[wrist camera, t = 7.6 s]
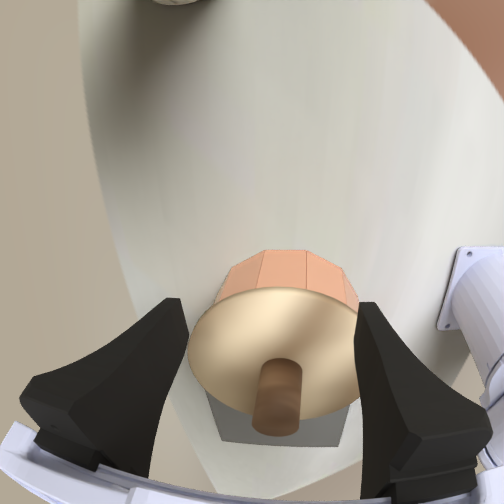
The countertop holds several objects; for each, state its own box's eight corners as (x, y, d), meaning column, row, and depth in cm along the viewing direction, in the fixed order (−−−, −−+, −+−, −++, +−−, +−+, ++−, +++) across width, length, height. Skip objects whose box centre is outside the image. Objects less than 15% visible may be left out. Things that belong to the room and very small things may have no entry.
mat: (356, 371, 28) (356, 376, 28) (337, 442, 35) (337, 446, 35) (201, 366, 31) (199, 370, 30) (222, 437, 38) (221, 440, 37)
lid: (407, 308, 18) (428, 373, 13) (339, 421, 24) (339, 473, 20) (194, 265, 19) (162, 325, 14) (189, 393, 25) (171, 444, 21)
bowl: (363, 250, 22) (375, 292, 18) (348, 358, 27) (351, 402, 23) (209, 250, 24) (189, 289, 20) (228, 354, 29) (216, 397, 25)
